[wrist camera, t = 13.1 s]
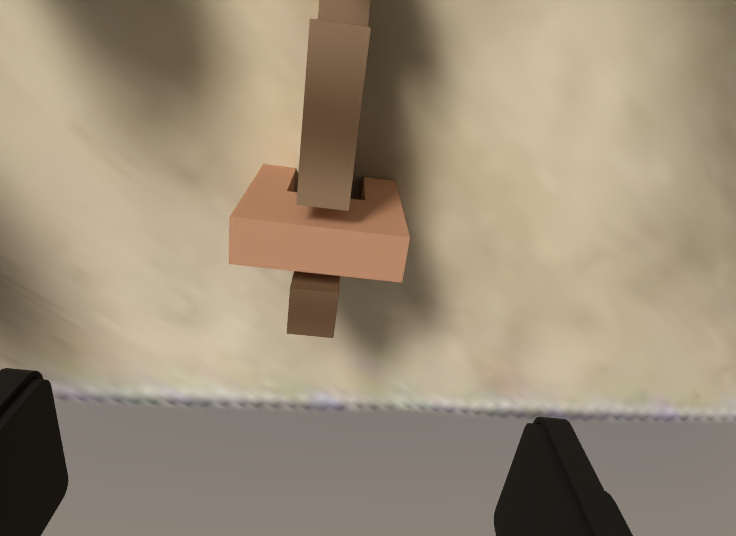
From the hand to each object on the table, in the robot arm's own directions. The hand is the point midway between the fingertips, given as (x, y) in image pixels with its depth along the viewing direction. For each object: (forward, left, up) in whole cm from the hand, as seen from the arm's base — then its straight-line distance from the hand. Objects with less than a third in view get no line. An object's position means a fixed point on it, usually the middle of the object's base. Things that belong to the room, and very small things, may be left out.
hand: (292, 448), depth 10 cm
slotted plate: (0, 0, -19) cm, 19 cm away
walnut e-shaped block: (-5, 0, -19) cm, 19 cm away
